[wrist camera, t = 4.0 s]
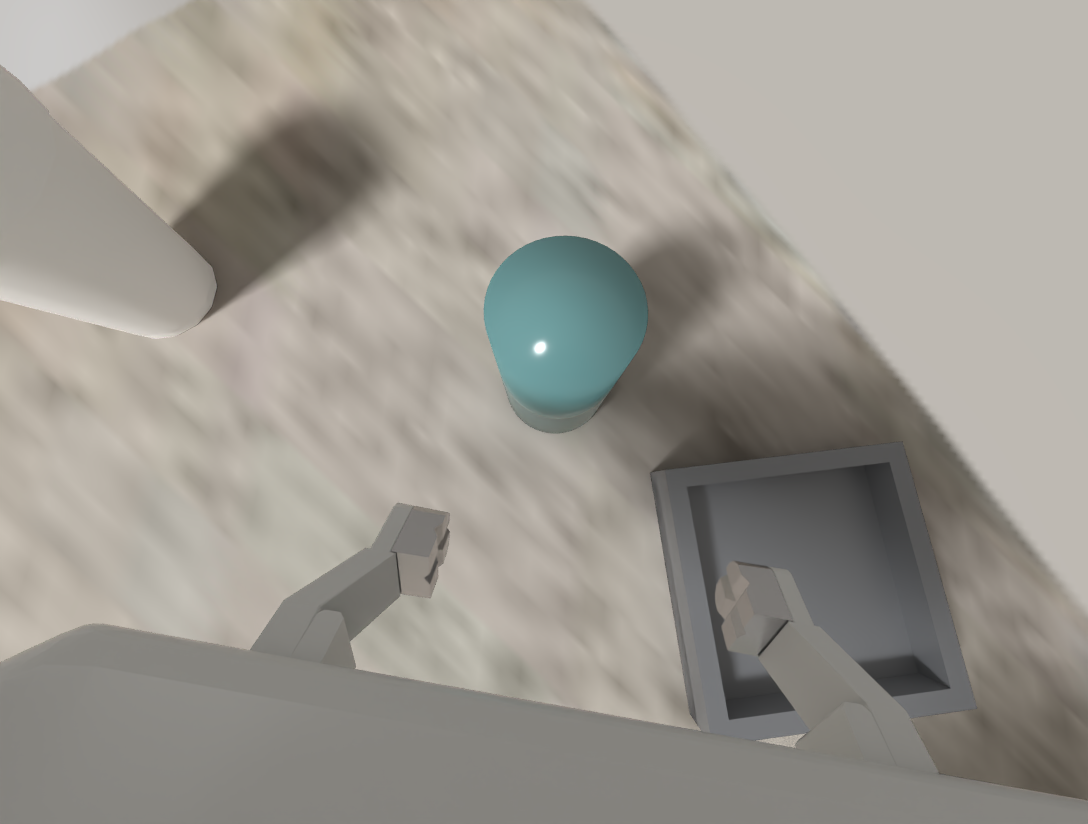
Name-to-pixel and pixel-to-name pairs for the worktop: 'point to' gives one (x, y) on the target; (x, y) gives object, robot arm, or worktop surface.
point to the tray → (809, 579)
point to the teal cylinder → (563, 328)
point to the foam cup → (86, 233)
